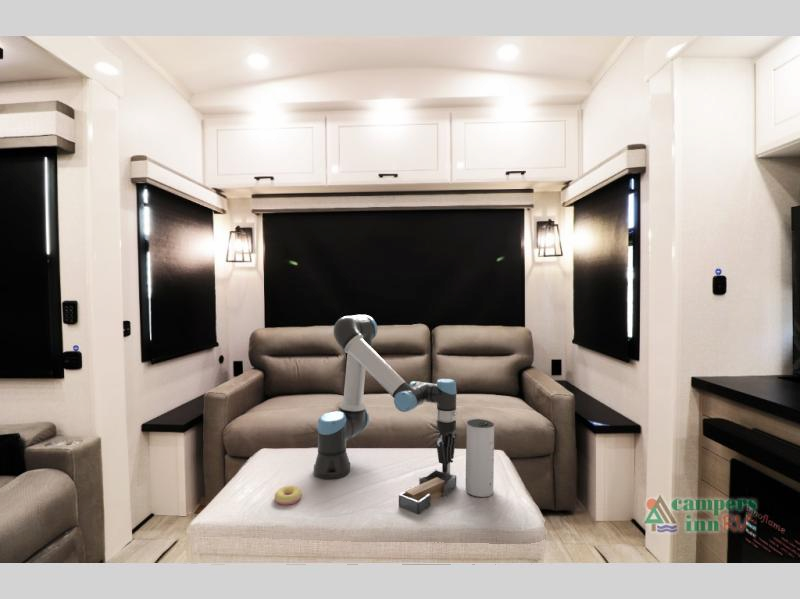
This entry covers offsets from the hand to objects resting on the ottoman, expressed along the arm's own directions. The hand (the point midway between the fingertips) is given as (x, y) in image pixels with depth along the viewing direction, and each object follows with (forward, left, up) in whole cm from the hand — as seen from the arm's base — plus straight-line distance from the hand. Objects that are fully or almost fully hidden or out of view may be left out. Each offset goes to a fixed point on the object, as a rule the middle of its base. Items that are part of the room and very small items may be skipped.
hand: (446, 478), depth 160 cm
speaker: (+13, +2, -1) cm, 14 cm away
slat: (+1, -15, -2) cm, 15 cm away
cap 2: (0, -6, -1) cm, 6 cm away
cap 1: (0, -22, -1) cm, 22 cm away
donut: (-39, -45, -2) cm, 60 cm away
